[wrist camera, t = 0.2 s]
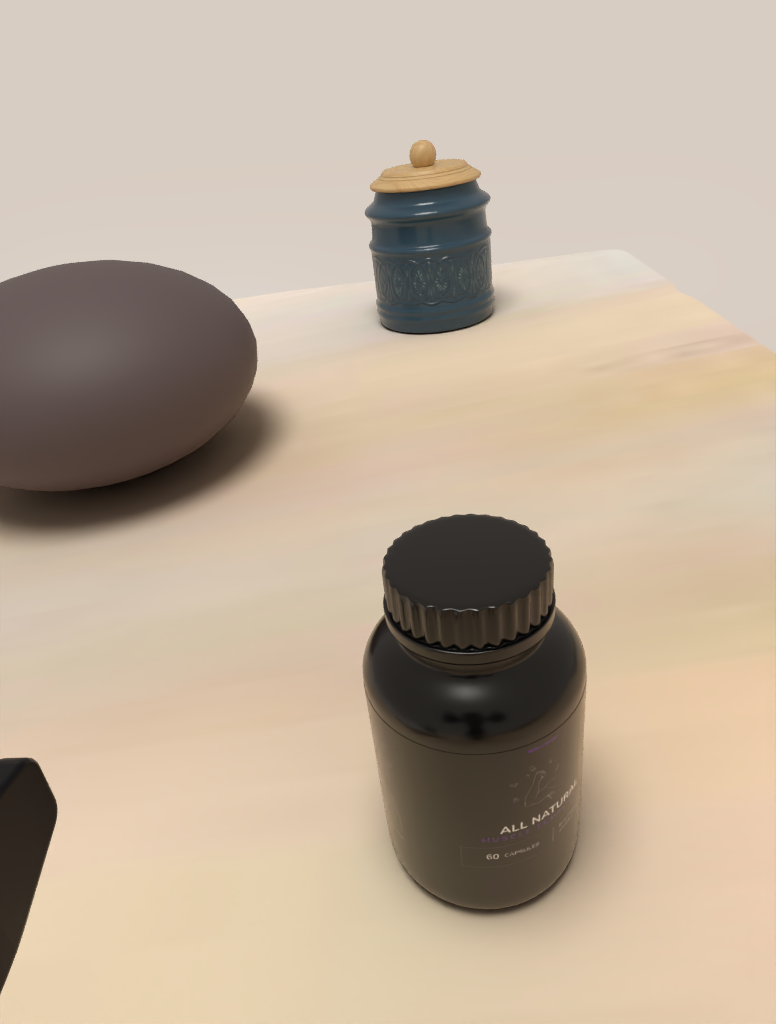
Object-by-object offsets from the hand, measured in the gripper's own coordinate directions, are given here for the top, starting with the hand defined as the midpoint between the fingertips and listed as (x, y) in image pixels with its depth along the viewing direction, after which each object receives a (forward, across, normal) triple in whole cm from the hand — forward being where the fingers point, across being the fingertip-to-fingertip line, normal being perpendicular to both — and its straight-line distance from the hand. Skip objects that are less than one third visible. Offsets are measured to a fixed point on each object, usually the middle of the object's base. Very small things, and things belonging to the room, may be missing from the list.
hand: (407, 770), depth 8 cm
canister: (+74, -1, +14) cm, 76 cm away
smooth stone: (+45, +25, +16) cm, 54 cm away
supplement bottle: (+11, -1, +16) cm, 20 cm away
